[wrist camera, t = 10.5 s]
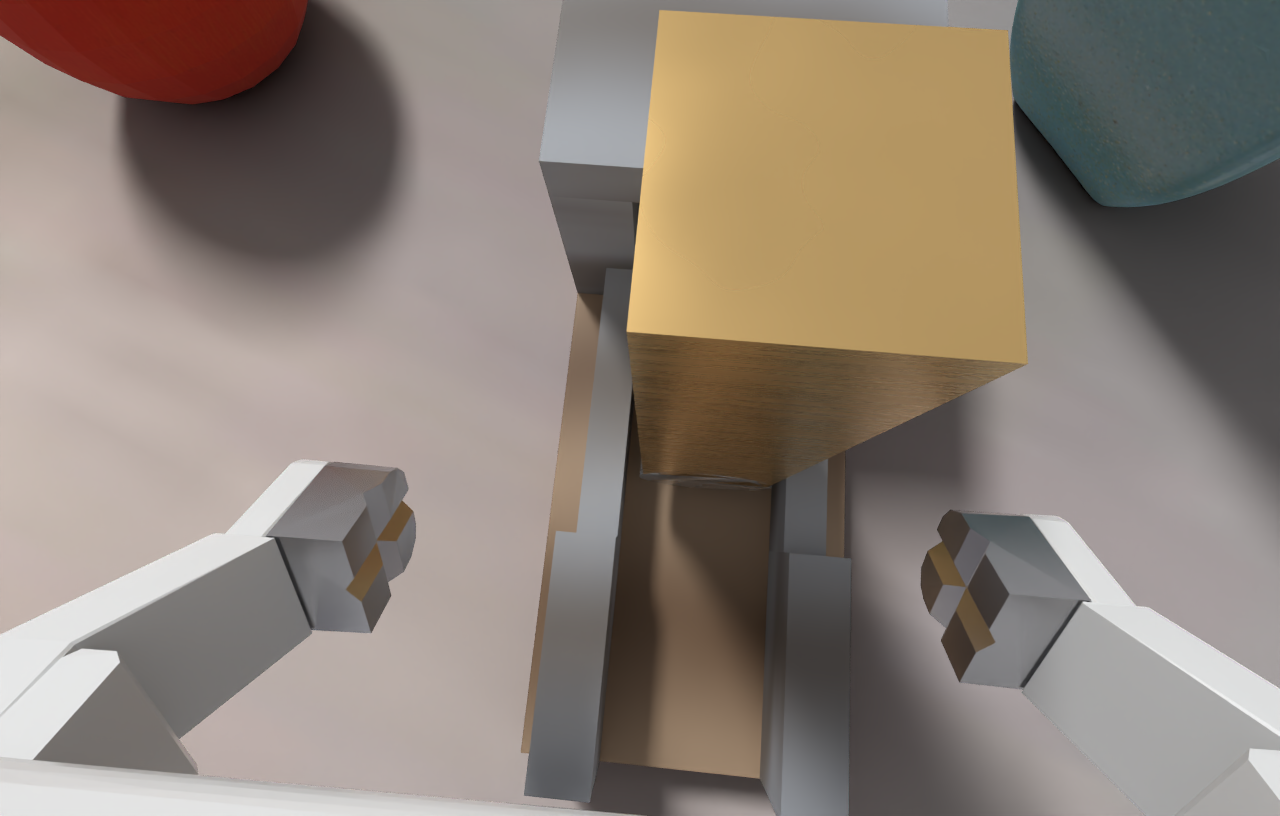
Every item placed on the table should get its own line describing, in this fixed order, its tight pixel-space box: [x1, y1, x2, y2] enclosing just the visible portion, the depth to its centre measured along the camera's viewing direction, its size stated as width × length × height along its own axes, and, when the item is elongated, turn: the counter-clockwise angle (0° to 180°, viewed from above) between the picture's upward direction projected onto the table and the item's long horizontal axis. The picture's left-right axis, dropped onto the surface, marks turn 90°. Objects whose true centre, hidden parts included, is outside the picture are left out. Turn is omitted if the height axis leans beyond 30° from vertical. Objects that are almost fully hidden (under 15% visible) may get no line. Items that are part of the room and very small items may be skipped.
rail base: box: [521, 0, 948, 816], centre depth 14 cm, size 18×8×7 cm, turn 175°
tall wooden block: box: [627, 10, 1028, 490], centre depth 11 cm, size 10×3×12 cm, turn 175°
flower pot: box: [1010, 0, 1280, 207], centre depth 15 cm, size 9×9×9 cm
